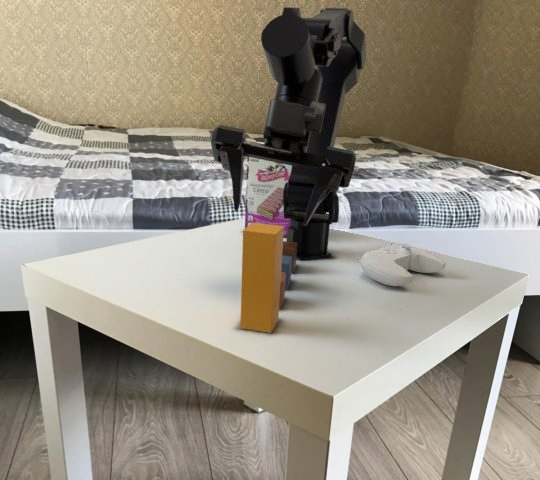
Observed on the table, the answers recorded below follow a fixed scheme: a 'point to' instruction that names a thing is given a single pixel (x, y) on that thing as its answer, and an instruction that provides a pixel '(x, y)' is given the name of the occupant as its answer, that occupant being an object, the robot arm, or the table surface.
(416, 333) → the table surface
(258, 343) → the table surface
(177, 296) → the table surface
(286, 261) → the cube
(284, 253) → the cube
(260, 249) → the tall block
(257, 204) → the candy bar box
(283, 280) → the cube
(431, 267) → the game controller
